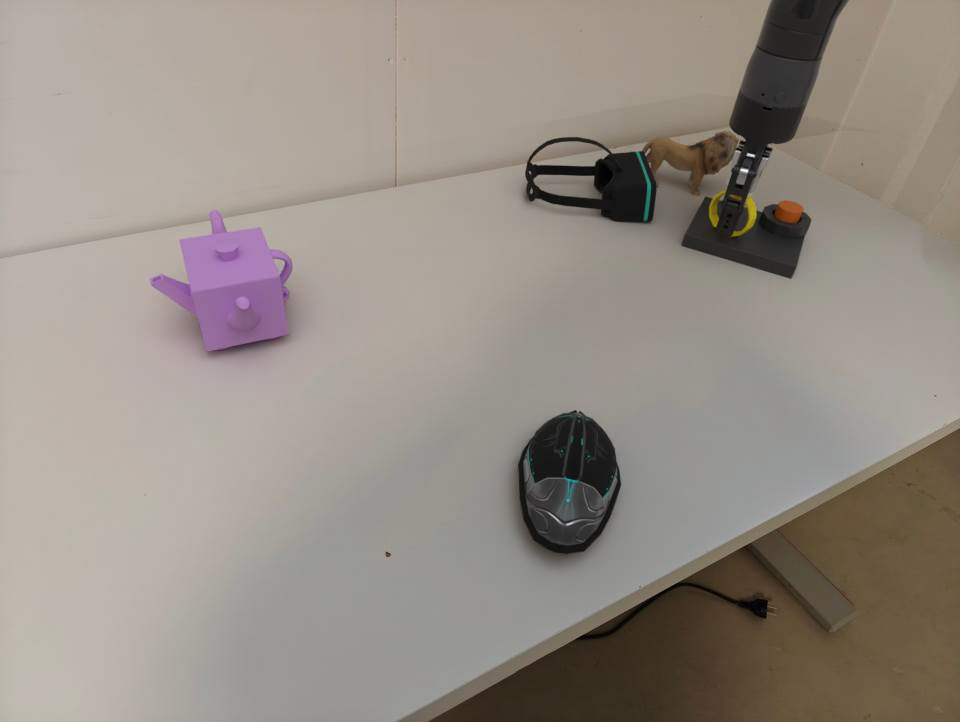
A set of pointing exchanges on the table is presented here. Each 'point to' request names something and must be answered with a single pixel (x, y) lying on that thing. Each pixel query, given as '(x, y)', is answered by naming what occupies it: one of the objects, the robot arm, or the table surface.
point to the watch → (749, 201)
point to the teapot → (231, 286)
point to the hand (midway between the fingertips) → (728, 223)
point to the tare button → (788, 211)
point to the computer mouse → (568, 483)
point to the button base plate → (751, 239)
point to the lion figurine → (693, 156)
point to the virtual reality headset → (603, 183)
